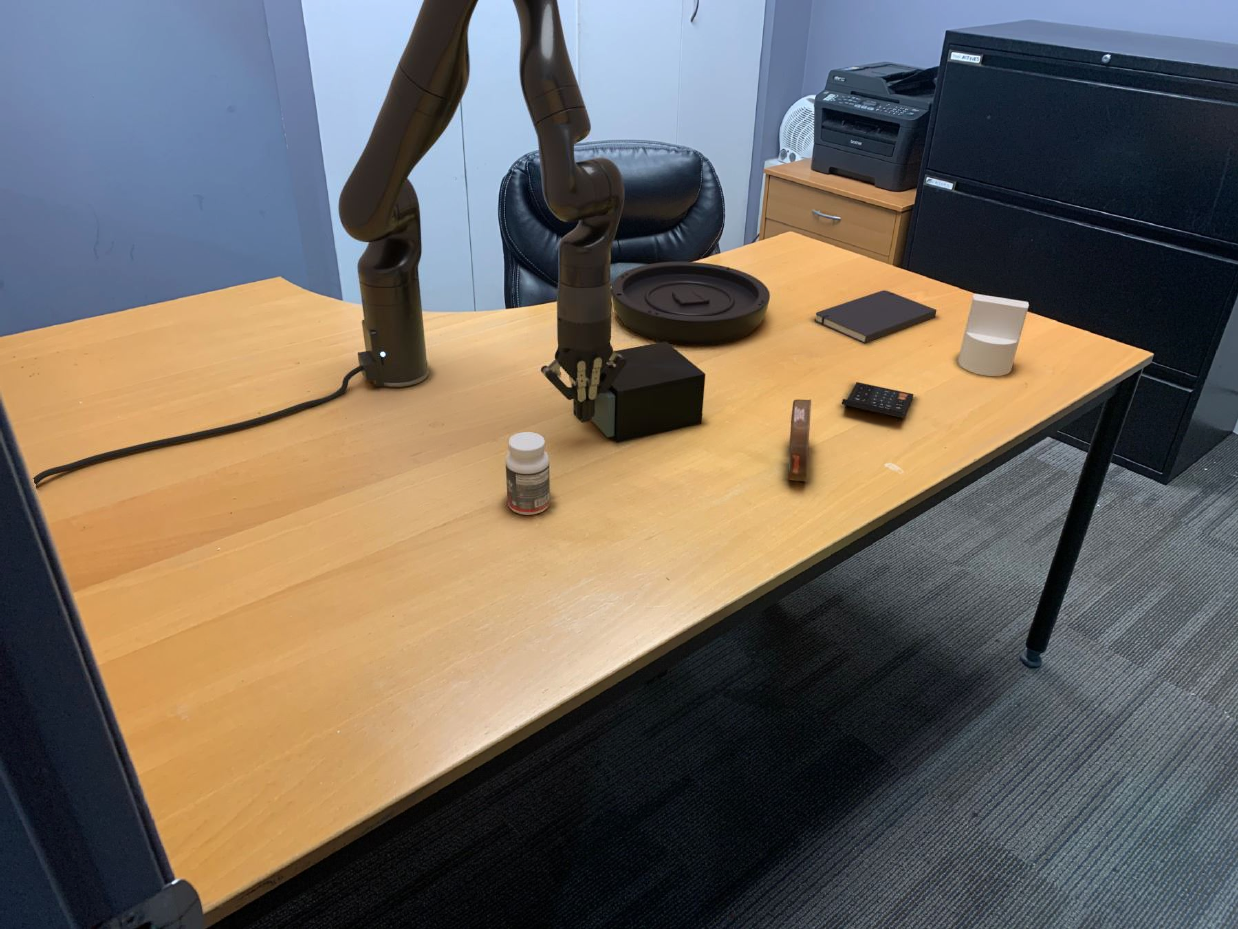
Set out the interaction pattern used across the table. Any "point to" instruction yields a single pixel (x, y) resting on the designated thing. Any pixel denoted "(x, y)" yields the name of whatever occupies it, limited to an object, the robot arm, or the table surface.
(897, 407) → the calculator
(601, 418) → the drawer
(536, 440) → the pill bottle
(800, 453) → the tin
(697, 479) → the table surface
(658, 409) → the cabinet
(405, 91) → the robot arm
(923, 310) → the notebook
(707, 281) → the round tray
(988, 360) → the cylinder with rectangular tab
